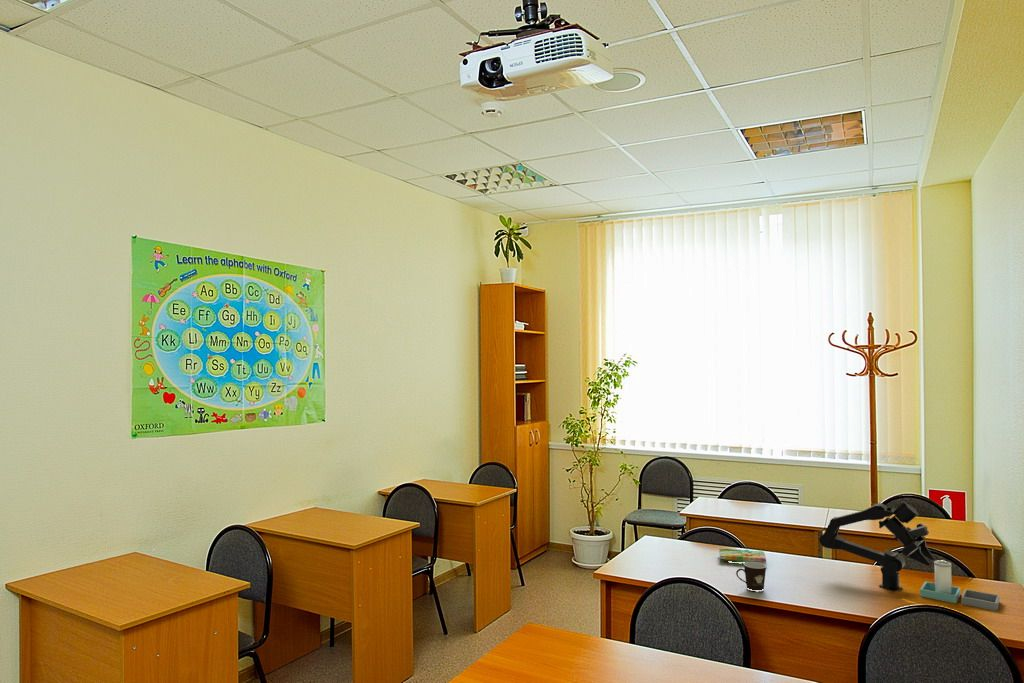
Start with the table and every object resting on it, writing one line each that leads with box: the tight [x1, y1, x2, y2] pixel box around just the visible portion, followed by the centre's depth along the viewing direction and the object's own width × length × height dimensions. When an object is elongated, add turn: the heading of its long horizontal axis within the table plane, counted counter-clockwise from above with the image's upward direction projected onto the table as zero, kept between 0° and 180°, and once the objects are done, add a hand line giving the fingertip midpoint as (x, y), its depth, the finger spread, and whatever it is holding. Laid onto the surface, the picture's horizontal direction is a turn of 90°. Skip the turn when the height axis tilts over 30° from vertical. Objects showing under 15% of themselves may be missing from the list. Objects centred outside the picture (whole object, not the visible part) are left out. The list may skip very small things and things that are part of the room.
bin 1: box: [919, 581, 962, 604], centre depth 268 cm, size 12×12×4 cm
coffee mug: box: [735, 562, 767, 590], centre depth 278 cm, size 12×9×10 cm
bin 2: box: [960, 588, 1001, 612], centre depth 260 cm, size 11×11×4 cm
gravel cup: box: [933, 559, 953, 595], centre depth 268 cm, size 6×6×14 cm
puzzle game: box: [718, 548, 767, 565], centre depth 316 cm, size 12×5×20 cm
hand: (931, 562), depth 270 cm, fingers open, 9 cm apart
